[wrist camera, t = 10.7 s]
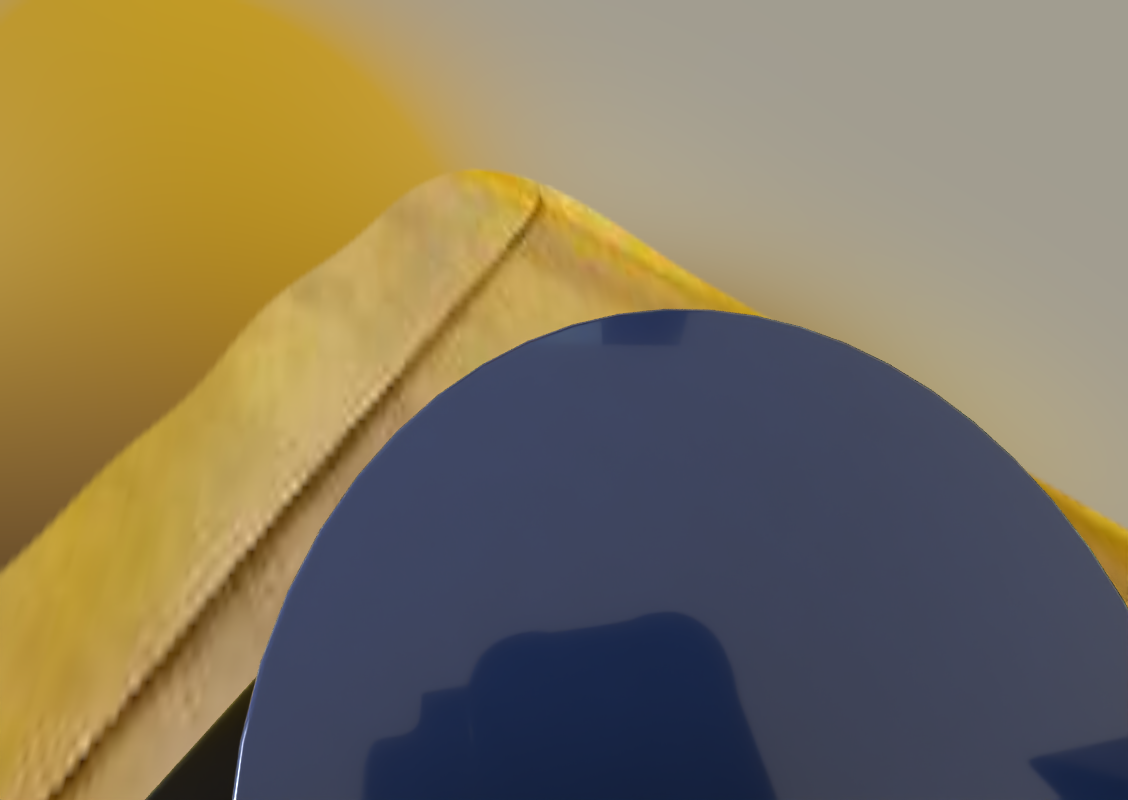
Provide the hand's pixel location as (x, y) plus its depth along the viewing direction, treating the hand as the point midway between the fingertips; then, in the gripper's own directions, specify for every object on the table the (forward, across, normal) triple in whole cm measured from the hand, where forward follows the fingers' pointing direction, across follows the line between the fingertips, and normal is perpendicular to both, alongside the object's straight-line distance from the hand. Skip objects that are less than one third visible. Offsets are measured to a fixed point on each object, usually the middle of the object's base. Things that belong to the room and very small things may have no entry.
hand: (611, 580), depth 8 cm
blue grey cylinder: (+4, 0, +6) cm, 7 cm away
